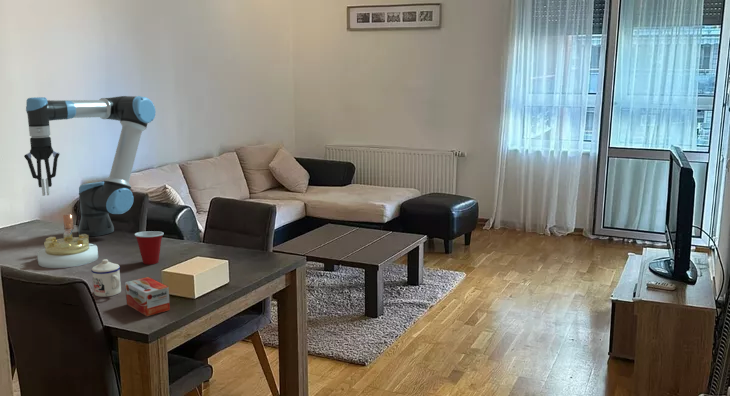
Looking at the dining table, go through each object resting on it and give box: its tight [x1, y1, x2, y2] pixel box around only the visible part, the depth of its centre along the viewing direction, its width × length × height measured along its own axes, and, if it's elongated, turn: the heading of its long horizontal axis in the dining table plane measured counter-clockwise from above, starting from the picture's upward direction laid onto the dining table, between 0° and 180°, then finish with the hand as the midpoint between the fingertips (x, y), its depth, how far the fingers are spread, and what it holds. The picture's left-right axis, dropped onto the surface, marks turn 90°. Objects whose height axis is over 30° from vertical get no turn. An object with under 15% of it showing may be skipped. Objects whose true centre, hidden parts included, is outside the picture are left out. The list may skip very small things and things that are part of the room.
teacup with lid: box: [90, 258, 122, 298], centre depth 236 cm, size 12×9×12 cm
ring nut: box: [43, 213, 90, 255], centre depth 279 cm, size 23×16×11 cm
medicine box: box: [124, 276, 171, 317], centre depth 223 cm, size 15×8×8 cm, turn 43°
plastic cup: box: [134, 230, 164, 265], centre depth 272 cm, size 11×11×12 cm
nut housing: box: [37, 243, 99, 269], centre depth 277 cm, size 22×22×4 cm
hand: (46, 194), depth 283 cm, fingers closed
